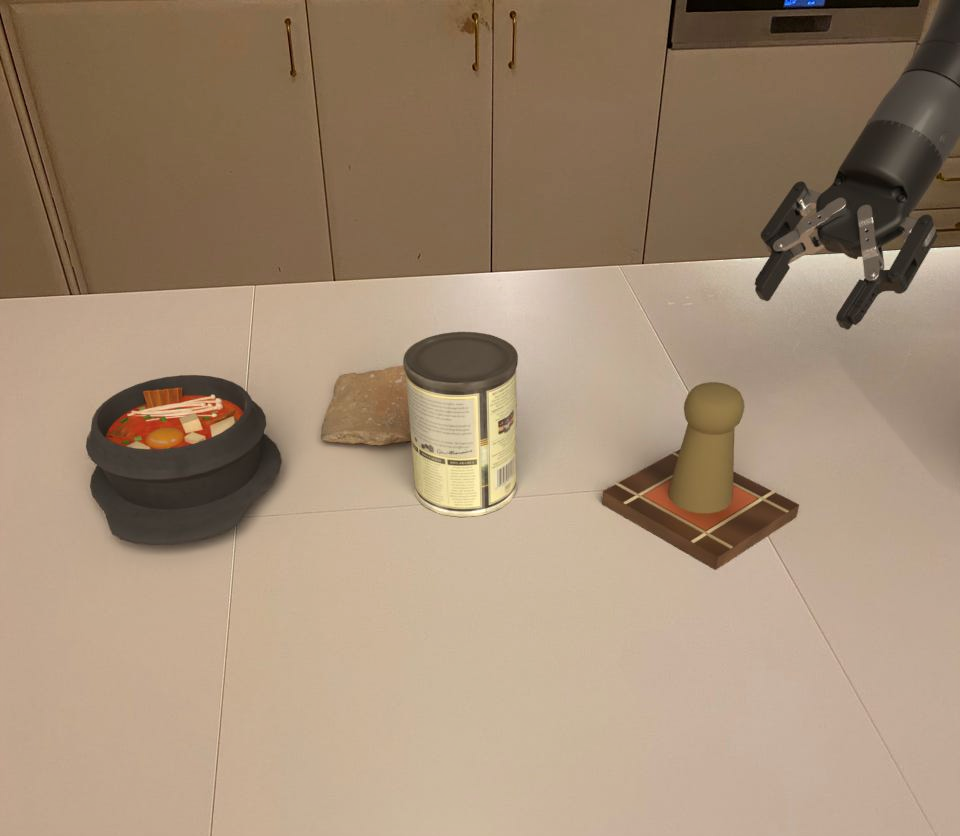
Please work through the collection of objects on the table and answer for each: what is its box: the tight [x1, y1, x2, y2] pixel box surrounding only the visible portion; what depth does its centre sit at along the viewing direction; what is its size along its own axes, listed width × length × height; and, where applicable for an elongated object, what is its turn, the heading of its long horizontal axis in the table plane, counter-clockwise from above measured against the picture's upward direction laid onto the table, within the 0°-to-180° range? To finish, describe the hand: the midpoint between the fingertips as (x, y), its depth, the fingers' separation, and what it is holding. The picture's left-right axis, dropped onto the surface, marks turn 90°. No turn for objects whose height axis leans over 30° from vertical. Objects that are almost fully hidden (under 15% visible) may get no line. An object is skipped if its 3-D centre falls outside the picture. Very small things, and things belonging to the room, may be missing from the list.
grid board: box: [601, 448, 800, 571], centre depth 94 cm, size 12×14×2 cm
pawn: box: [668, 381, 745, 513], centre depth 90 cm, size 6×6×11 cm
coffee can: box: [402, 331, 519, 518], centre depth 93 cm, size 10×10×14 cm
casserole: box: [85, 374, 283, 546], centre depth 96 cm, size 25×19×8 cm
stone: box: [320, 364, 411, 446], centre depth 107 cm, size 11×16×3 cm
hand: (799, 310), depth 88 cm, fingers open, 8 cm apart
